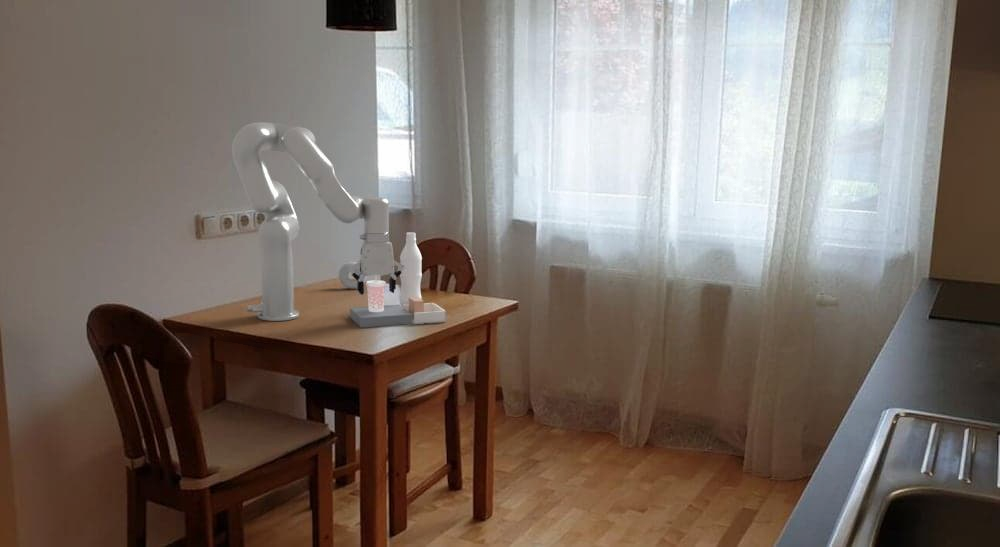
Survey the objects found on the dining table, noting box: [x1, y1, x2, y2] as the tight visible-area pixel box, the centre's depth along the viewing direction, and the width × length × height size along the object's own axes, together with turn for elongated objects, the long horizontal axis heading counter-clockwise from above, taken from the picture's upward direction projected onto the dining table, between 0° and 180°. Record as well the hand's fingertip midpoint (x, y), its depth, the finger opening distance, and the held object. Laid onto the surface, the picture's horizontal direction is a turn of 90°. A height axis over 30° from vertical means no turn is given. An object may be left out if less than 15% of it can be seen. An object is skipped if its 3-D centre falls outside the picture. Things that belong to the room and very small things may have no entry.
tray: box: [403, 302, 447, 325], centre depth 280 cm, size 10×12×4 cm
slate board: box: [349, 304, 413, 328], centre depth 277 cm, size 16×14×3 cm
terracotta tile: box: [409, 297, 425, 320], centre depth 279 cm, size 6×6×3 cm
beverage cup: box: [365, 276, 387, 312], centre depth 276 cm, size 6×6×14 cm
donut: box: [338, 261, 368, 290], centre depth 322 cm, size 10×4×10 cm, turn 95°
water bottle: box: [399, 231, 423, 307], centre depth 293 cm, size 7×7×25 cm
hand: (376, 292), depth 276 cm, fingers open, 9 cm apart
